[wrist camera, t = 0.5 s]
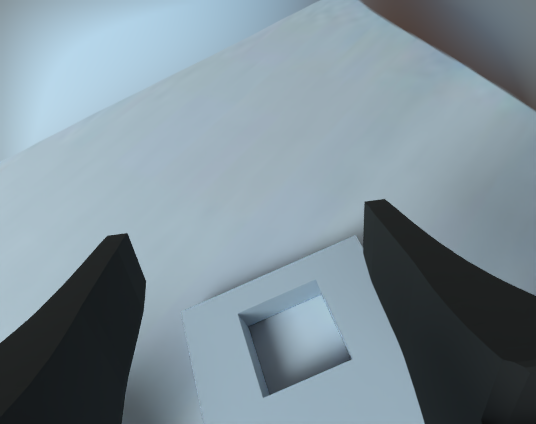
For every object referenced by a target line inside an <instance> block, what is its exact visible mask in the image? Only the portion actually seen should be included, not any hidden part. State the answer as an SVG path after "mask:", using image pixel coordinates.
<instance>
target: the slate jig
mask: <svg viewBox="0 0 536 424" xmlns="http://www.w3.org/2000/svg"><path fill="white" fill-rule="evenodd" d="M321 294H322V296H323V298H324V300H325V303H326V305H327V307H328V309H329V311H330V314H331V316H332V318H333V320H334V322H335V324H336V327H337V329H338V331H339V333H340V335H341V337H342V340H343V342H344V344H345V346H346V348H347V351H348V353H349V355H350V357H351V359H352V360H349V361H347V362H345V363H342V364H340V365H338V366H336V367H333V368H331V369H329V370H326V371H324V372H322V373H319V374H317V375H315V376H313V377H310V378H308V379H306V380H303V381H301V382H299V383H296V384H294V385H292V386H290V387H287V388H285V389H283V390H280V391H278V392H276V393H273V394H271V395H270V394H269V391H268V388H267V385H266V382H265V379H264V375H263V372H262V369H261V366H260V363H259V359H258V356H257V353H256V350H255V347H254V343H253V340H252V337H251V334H250V331H249V327H248V326H250V325H252V324H255V323H257V322H259V321H262V320H264V319H266V318H268V317H271V316H273V315H275V314H278V313H280V312H282V311H284V310H287V309H289V308H291V307H293V306H296V305H298V304H300V303H303V302H305V301H307V300H309V299H312V298H314V297H316V296H319V295H321ZM181 316H182V321H183V326H184V331H185V336H186V341H187V345H188V350H189V355H190V360H191V365H192V370H193V375H194V380H195V384H196V389H197V394H198V399H199V404H200V409H201V414H202V418H203V423H204V424H425V423H424V420H423V416H422V413H421V410H420V406H419V403H418V400H417V397H416V393H415V390H414V387H413V384H412V381H411V377H410V374H409V371H408V368H407V365H406V362H405V359H404V356H403V353H402V351H401V348H400V346H399V343H398V341H397V339H396V336H395V334H394V332H393V330H392V327H391V325H390V323H389V321H388V318H387V316H386V314H385V312H384V309H383V307H382V305H381V303H380V300H379V298H378V296H377V293H376V291H375V289H374V286H373V284H372V282H371V279H370V275H369V272H368V269H367V265H366V262H365V258H364V255H363V247H362V245H361V243H360V242H359V240H358V238H357V236H356V235H354V236H352V237H350V238H347V239H345V240H343V241H340V242H338V243H336V244H334V245H331V246H329V247H327V248H325V249H322V250H320V251H318V252H315V253H313V254H311V255H309V256H306V257H304V258H302V259H300V260H297V261H295V262H293V263H290V264H288V265H286V266H284V267H281V268H279V269H277V270H275V271H272V272H270V273H268V274H265V275H263V276H261V277H259V278H256V279H254V280H252V281H250V282H247V283H245V284H243V285H240V286H238V287H236V288H234V289H231V290H229V291H227V292H224V293H222V294H220V295H218V296H215V297H213V298H211V299H209V300H206V301H204V302H202V303H199V304H197V305H195V306H193V307H190V308H188V309H186V310H184V311H181Z"/></svg>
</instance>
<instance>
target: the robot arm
mask: <svg viewBox="0 0 536 424" xmlns="http://www.w3.org/2000/svg"><path fill="white" fill-rule="evenodd" d="M363 255H364V258H365V262H366V265H367V269H368V272H369V275H370V279H371V282H372V284H373V286H374V289H375V291H376V293H377V296H378V298H379V300H380V303H381V305H382V307H383V309H384V312H385V314H386V316H387V318H388V321H389V323H390V325H391V327H392V330H393V332H394V334H395V336H396V339H397V341H398V343H399V346H400V348H401V351H402V353H403V356H404V359H405V362H406V365H407V368H408V371H409V374H410V377H411V381H412V384H413V387H414V390H415V393H416V397H417V400H418V403H419V406H420V410H421V413H422V416H423V420H424V423H425V424H536V296H535V295H532V294H530V293H528V292H526V291H523V290H521V289H519V288H517V287H515V286H513V285H511V284H509V283H507V282H505V281H503V280H501V279H499V278H497V277H495V276H493V275H491V274H489V273H487V272H486V271H484V270H482V269H480V268H479V267H477V266H475V265H473V264H471V263H470V262H468V261H467V260H465V259H463V258H462V257H460V256H459V255H457V254H456V253H454V252H453V251H451V250H450V249H448V248H447V247H445V246H444V245H442V244H441V243H439V242H438V241H437V240H435V239H434V238H432V237H431V236H430V235H428V234H427V233H426V232H425V231H423V230H422V229H421V228H419V227H418V226H417V225H416V224H414V223H413V222H412V221H411V220H409V219H408V218H407V217H406V216H405V215H403V214H402V213H401V212H400V211H399V210H397V209H396V208H395V207H394V206H393V205H391V204H390V203H389V202H388V201H386V200H385V199H382V200H374V201H367V202H365V207H364V237H363ZM145 289H146V280H145V278H144V275H143V272H142V270H141V267H140V265H139V262H138V259H137V257H136V254H135V252H134V249H133V247H132V244H131V241H130V239H129V236H128V234H127V233H125V234H118V235H110V236H107V237H106V238H105V239H104V240H103V241H102V242H101V243H100V244H99V245H98V247H97V248H96V249H95V250H94V251H93V252H92V253H91V255H90V256H89V257H88V258H87V259H86V260H85V261H84V263H83V264H82V265H81V266H80V267H79V268H78V269H77V270H76V271H75V273H74V274H73V275H72V276H71V277H70V278H69V279H68V280H67V281H66V282H65V284H64V285H63V286H62V287H61V288H60V289H59V290H58V291H57V292H56V293H55V294H54V295H53V296H52V297H51V298H50V299H49V300H48V301H47V302H46V303H45V304H44V305H43V306H42V307H41V308H40V309H39V310H38V311H37V312H36V313H35V314H34V315H32V316H31V317H30V318H29V319H28V320H27V321H26V322H25V323H24V324H22V325H21V326H20V327H19V328H18V329H17V330H15V331H14V332H13V333H12V334H11V335H10V336H8V337H7V338H6V339H5V340H3V341H2V342H1V343H0V424H121V423H122V415H123V407H124V399H125V392H126V386H127V381H128V376H129V372H130V368H131V363H132V359H133V355H134V351H135V346H136V342H137V338H138V334H139V329H140V325H141V320H142V316H143V311H144V301H145Z"/></svg>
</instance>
